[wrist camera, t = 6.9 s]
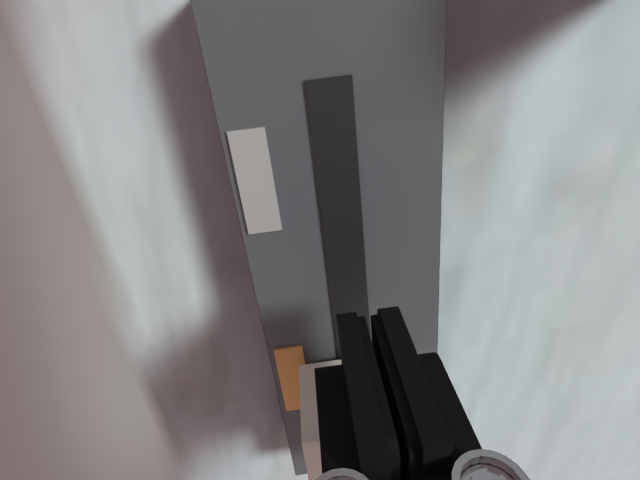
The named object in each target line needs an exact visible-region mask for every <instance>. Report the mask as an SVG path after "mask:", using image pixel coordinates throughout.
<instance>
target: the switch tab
mask: <svg viewBox="0 0 640 480" xmlns="http://www.w3.org/2000/svg"><path fill="white" fill-rule="evenodd" d="M334 365H342V362H341V360H333V361H326V362H319V363H312V364H305V365H299V387H300V415H301V443H302V448H303V453H304V458H305V463H306V468H307V473H308V478H309V480H316V479H317V478H318V477H319V476H320V475H321V474H322V465H321V452H320V439H319V425H318V412H317V399H316V385H315V371H314V370H315V368H319V367H327V366H334Z"/></svg>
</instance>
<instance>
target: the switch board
mask: <svg viewBox="0 0 640 480" xmlns="http://www.w3.org/2000/svg"><path fill="white" fill-rule="evenodd" d="M190 1H191V6H192V10H193V15H194V19H195V24H196V28H197V33H198V37H199V42H200V46H201V51H202V55H203V60H204V64H205V69H206V73H207V78H208V82H209V87H210V91H211V96H212V100H213V105H214V109H215V114H216V118H217V123H218V127H219V132H220V136H221V141H222V145H223V150H224V154H225V159H226V163H227V168H228V172H229V177H230V181H231V186H232V190H233V195H234V199H235V204H236V208H237V213H238V217H239V222H240V226H241V231H242V235H243V240H244V244H245V249H246V253H247V258H248V262H249V267H250V271H251V276H252V280H253V285H254V289H255V294H256V298H257V303H258V307H259V312H260V316H261V321H262V325H263V330H264V334H265V339H266V343H267V348H268V352H269V357H270V361H271V366H272V370H273V375H274V379H275V384H276V388H277V393H278V397H279V402H280V406H281V411H282V415H283V420H284V424H285V429H286V433H287V438H288V442H289V447H290V451H291V456H292V460H293V465H294V469H295V474H296V475H301V474H308V473H307V468H306V463H305V458H304V453H303V448H302V443H301V415H300V387H299V365H305V364H312V363H319V362H326V361H333V360H341V353H340V345H339V336H338V327H337V319H336V314H342V313H349V312H356V313H357V317H361V316H365V319H366V322H367V326H368V330H369V334H370V337H371V341H372V335H371V318H370V317H371V315H376V314H377V309H380V308H387V307H395V306H398V307H399V309H400V311H401V314H402V316H403V319H404V321H405V324H406V326H407V329H408V331H409V334H410V336H411V339H412V341H413V344H414V346H415V349H416V351H417V354H424V353H432V352H436V353H437V344H438V306H439V268H440V229H441V191H442V153H443V114H444V76H445V38H446V0H190Z"/></svg>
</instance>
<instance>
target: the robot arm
mask: <svg viewBox="0 0 640 480" xmlns="http://www.w3.org/2000/svg"><path fill="white" fill-rule="evenodd" d="M370 318H371V335H372V341H371V337H370V334H369V330H368V326H367V322H366V319H365V316H361V317H357V313H356V312H349V313H342V314H336V319H337V327H338V336H339V345H340V353H341V362H342V365H334V366H327V367H319V368H315V370H314V371H315V385H316V399H317V412H318V425H319V439H320V452H321V465H322V474H321V475H320V476H319V477H318V478H317V479H316V480H530V479H529V478H528V476H527V475H526V474H525V472H524V471H523V470H522V469H521V468H520V467H519V466H518V465H517V464H516V463H515V462H514V461H512V460H511V459H509V458H508V457H507V456H505V455H502V454H500V453H498V452H495V451H491V450H485V449H482V448H481V446H480V444H479V441H478V439H477V437H476V435H475V433H474V431H473V428H472V426H471V424H470V422H469V420H468V418H467V415H466V413H465V411H464V409H463V407H462V405H461V402H460V400H459V398H458V396H457V394H456V392H455V389H454V387H453V385H452V383H451V381H450V379H449V376H448V374H447V372H446V370H445V368H444V366H443V363H442V361H441V359H440V357H439V356H438V354H437V353H436V352H432V353H424V354H417V351H416V349H415V346H414V344H413V341H412V339H411V336H410V334H409V331H408V329H407V326H406V324H405V321H404V319H403V316H402V314H401V311H400V309H399V307H398V306H395V307H387V308H380V309H377V314H376V315H371V317H370Z"/></svg>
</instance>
